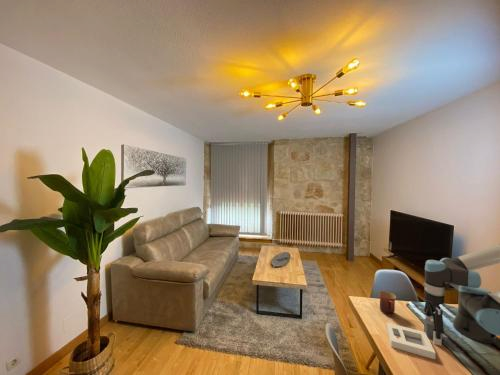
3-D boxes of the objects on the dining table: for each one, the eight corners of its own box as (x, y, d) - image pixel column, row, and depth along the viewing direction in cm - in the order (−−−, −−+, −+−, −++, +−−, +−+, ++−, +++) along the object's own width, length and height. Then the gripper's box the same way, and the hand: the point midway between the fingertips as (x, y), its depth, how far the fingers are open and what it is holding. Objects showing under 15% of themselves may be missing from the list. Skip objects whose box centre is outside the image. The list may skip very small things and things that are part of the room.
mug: (375, 306, 129) (376, 290, 129) (391, 308, 127) (392, 291, 127) (384, 319, 117) (384, 301, 117) (401, 321, 115) (402, 302, 115)
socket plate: (424, 337, 103) (424, 330, 103) (435, 359, 90) (435, 351, 90) (386, 328, 110) (386, 321, 110) (391, 346, 97) (391, 339, 97)
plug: (438, 335, 105) (439, 319, 104) (442, 341, 101) (443, 324, 100) (423, 331, 107) (424, 315, 107) (426, 337, 103) (427, 320, 103)
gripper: (417, 280, 116) (416, 320, 116) (433, 302, 94) (431, 350, 95) (435, 283, 112) (433, 324, 113) (455, 307, 91) (453, 356, 92)
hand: (432, 336), depth 104 cm, fingers open, 11 cm apart
